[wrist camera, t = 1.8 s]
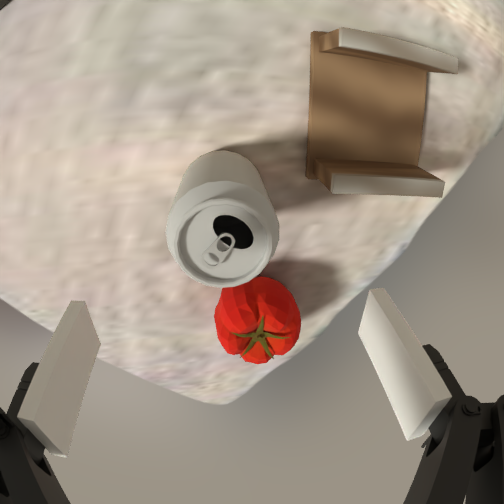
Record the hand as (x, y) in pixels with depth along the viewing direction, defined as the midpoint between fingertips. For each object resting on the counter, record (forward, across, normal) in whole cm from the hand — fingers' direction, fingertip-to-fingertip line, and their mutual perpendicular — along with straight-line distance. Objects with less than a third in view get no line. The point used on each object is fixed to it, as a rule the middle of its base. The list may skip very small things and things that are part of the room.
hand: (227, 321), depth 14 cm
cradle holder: (+18, +14, +8) cm, 24 cm away
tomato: (+19, +3, -13) cm, 23 cm away
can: (+18, 0, 0) cm, 19 cm away
